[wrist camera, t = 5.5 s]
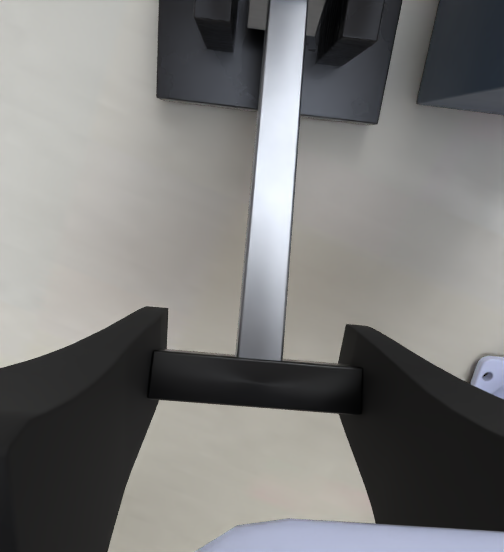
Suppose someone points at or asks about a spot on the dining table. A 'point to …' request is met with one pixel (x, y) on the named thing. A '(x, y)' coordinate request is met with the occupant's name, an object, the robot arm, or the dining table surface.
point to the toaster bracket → (249, 50)
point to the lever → (266, 253)
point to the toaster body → (466, 57)
